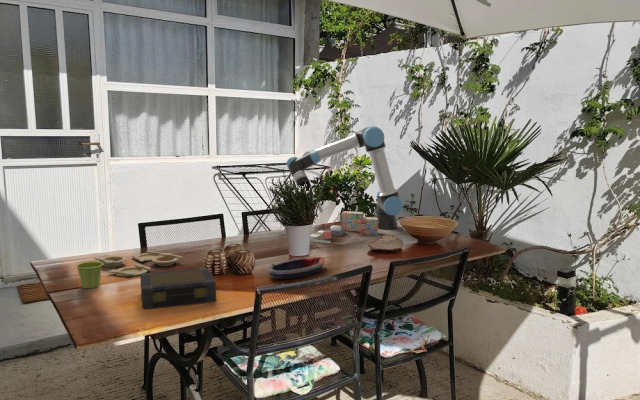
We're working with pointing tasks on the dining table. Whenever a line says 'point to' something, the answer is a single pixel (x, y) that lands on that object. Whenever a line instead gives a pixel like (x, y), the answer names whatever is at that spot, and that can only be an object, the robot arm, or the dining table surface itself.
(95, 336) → the dining table surface
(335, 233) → the board
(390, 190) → the robot arm
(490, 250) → the dining table surface
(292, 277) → the dish
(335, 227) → the dome
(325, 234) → the die
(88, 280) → the plant pot
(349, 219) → the stack of blocks
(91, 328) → the dining table surface
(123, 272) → the tableware set
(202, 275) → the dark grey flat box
